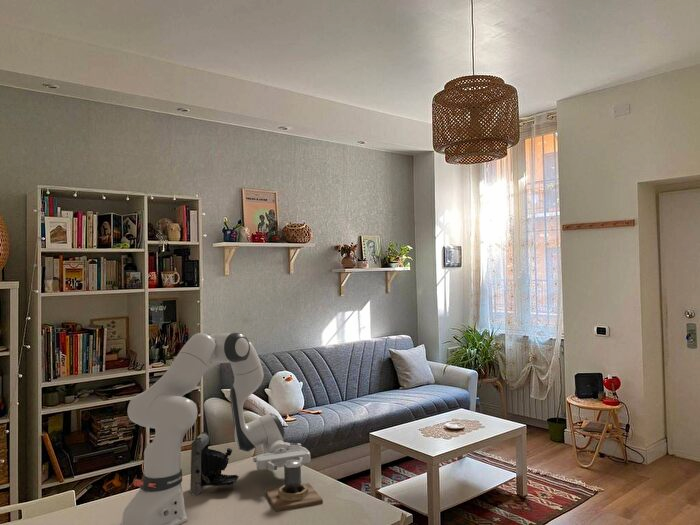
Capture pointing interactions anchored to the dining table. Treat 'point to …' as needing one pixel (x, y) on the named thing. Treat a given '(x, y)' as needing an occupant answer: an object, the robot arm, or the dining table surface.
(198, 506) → the dining table surface
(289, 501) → the mount
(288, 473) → the canister
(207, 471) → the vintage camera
